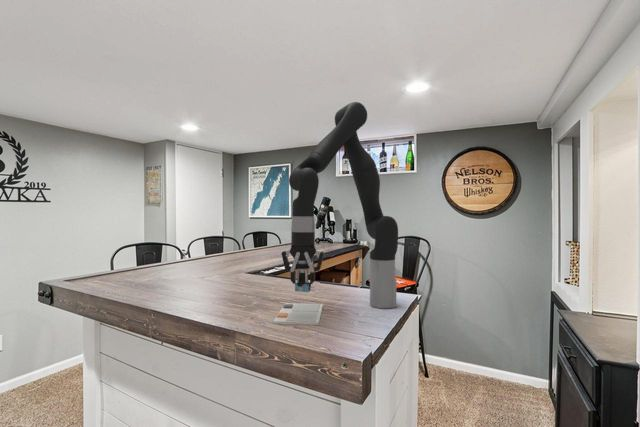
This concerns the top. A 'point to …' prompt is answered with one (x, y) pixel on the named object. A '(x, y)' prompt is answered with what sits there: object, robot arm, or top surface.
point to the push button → (302, 277)
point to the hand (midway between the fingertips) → (302, 283)
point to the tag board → (299, 314)
